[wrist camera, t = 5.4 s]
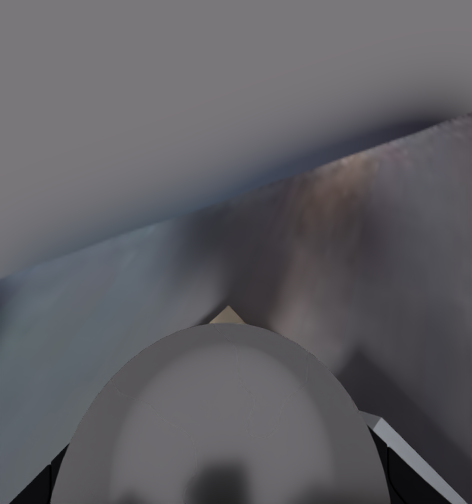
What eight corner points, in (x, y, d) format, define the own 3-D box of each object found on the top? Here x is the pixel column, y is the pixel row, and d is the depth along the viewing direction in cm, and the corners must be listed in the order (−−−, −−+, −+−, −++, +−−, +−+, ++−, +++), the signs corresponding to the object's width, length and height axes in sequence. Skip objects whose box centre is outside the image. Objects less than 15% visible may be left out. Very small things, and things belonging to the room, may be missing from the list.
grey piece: (295, 404, 12) (502, 498, 3) (221, 496, 11) (198, 1215, 2) (227, 328, 14) (233, 241, 4) (152, 400, 12) (-72, 490, 3)
